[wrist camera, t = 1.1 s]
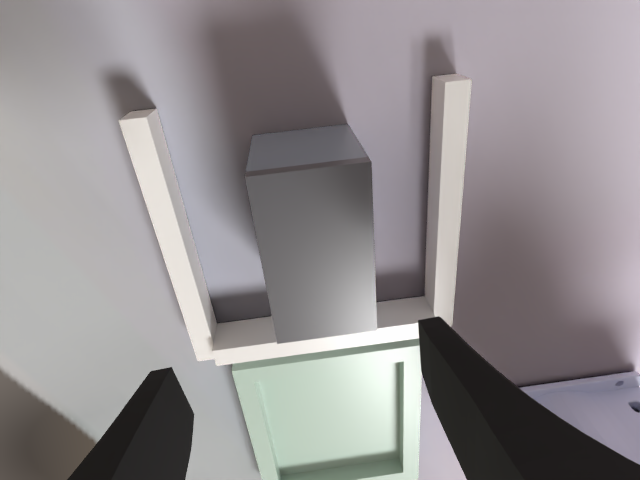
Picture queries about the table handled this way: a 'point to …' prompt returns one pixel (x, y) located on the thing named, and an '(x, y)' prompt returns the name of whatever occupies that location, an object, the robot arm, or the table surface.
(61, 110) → the table surface
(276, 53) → the table surface
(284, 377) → the tray
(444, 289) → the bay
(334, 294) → the grey rectangular block
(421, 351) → the robot arm
